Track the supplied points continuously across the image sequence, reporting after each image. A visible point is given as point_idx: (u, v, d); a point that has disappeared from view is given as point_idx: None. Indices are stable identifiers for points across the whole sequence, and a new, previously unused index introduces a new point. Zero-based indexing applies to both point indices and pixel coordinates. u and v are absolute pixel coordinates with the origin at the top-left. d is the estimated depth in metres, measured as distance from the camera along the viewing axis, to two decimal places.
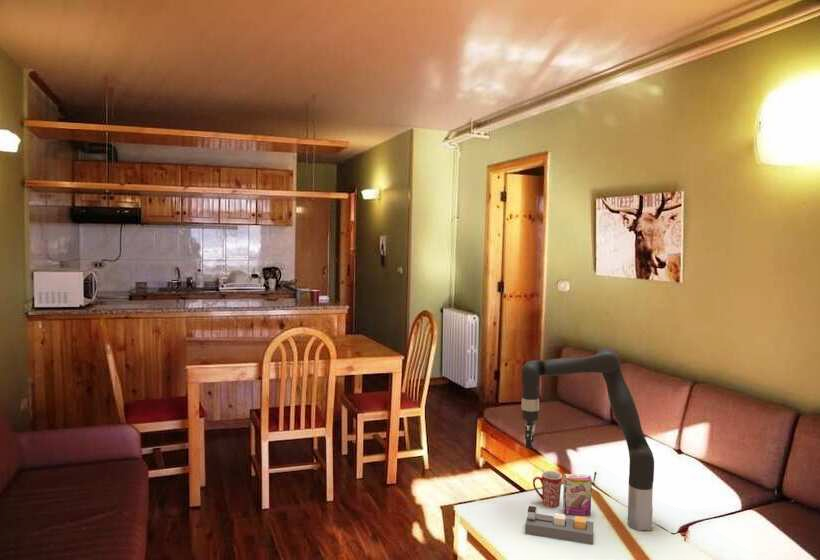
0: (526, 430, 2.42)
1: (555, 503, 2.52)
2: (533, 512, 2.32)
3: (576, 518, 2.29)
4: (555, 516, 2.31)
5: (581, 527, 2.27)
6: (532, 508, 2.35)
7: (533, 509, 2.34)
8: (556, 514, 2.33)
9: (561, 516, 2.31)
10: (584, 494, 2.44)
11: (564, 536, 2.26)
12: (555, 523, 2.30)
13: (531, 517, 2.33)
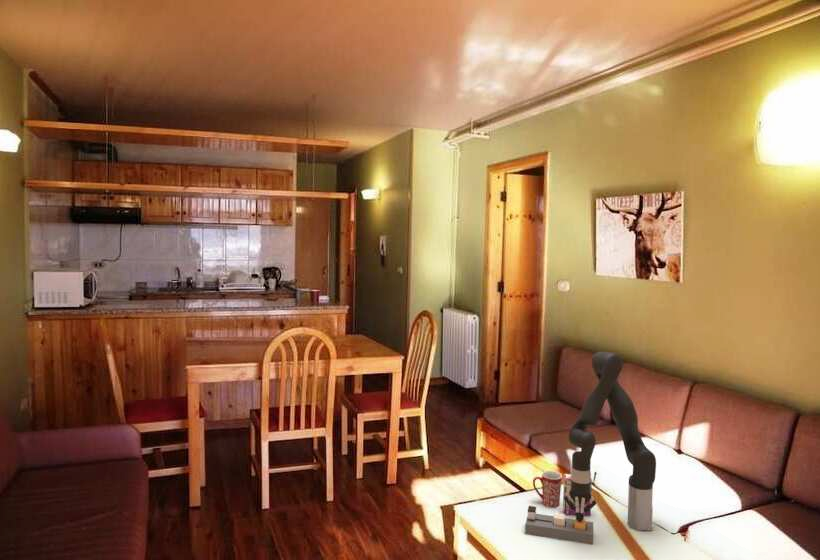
0: None
1: (555, 503, 2.52)
2: (533, 512, 2.32)
3: (576, 520, 2.29)
4: (555, 516, 2.31)
5: (581, 529, 2.27)
6: (532, 508, 2.35)
7: (533, 509, 2.34)
8: (556, 514, 2.33)
9: (561, 516, 2.31)
10: None
11: (564, 536, 2.26)
12: (555, 523, 2.30)
13: (531, 517, 2.33)
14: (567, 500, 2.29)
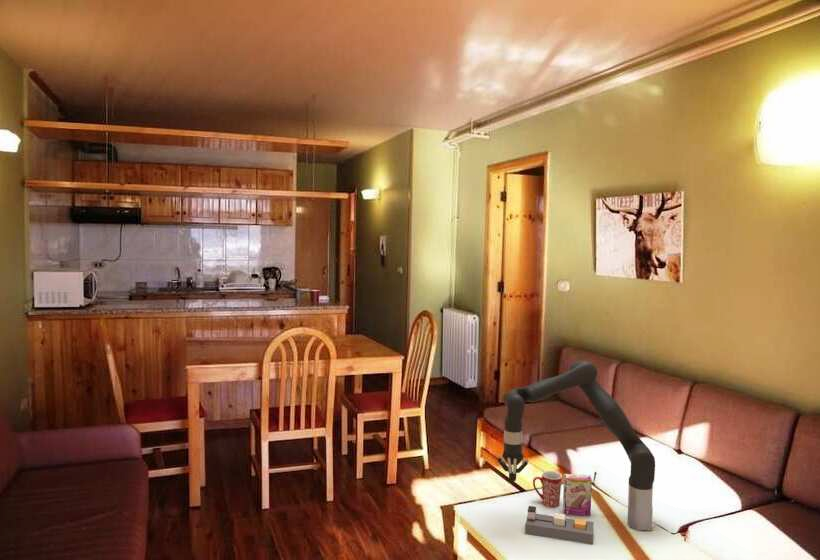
0: None
1: (555, 503, 2.52)
2: (533, 512, 2.32)
3: (576, 521, 2.29)
4: (555, 516, 2.31)
5: None
6: (532, 508, 2.35)
7: (533, 509, 2.34)
8: (556, 514, 2.33)
9: (561, 516, 2.31)
10: (584, 494, 2.44)
11: (564, 536, 2.26)
12: (555, 523, 2.30)
13: (531, 517, 2.33)
14: (500, 461, 2.36)
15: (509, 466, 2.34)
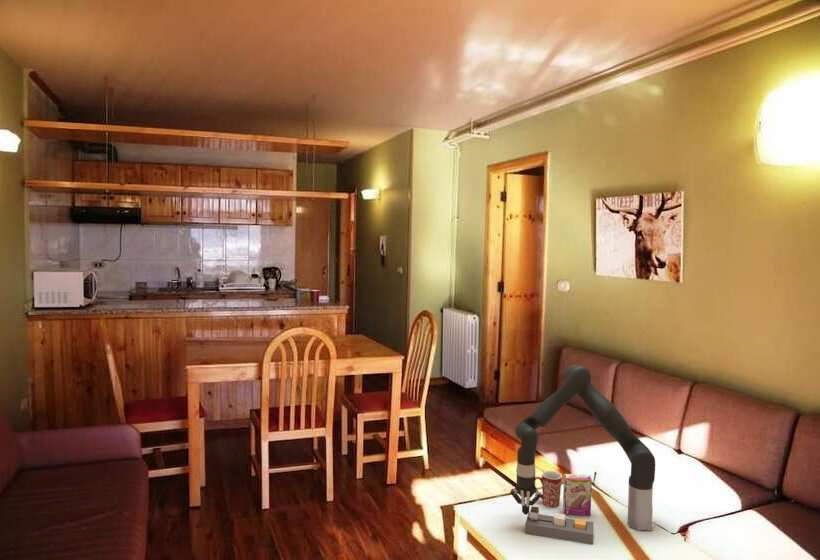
0: None
1: (555, 503, 2.52)
2: (536, 512, 2.32)
3: (576, 521, 2.29)
4: (555, 516, 2.31)
5: None
6: (535, 508, 2.34)
7: (536, 509, 2.33)
8: (556, 514, 2.33)
9: (561, 516, 2.31)
10: (584, 494, 2.44)
11: (564, 536, 2.26)
12: (555, 523, 2.30)
13: (534, 517, 2.32)
14: (513, 494, 2.35)
15: (522, 499, 2.34)
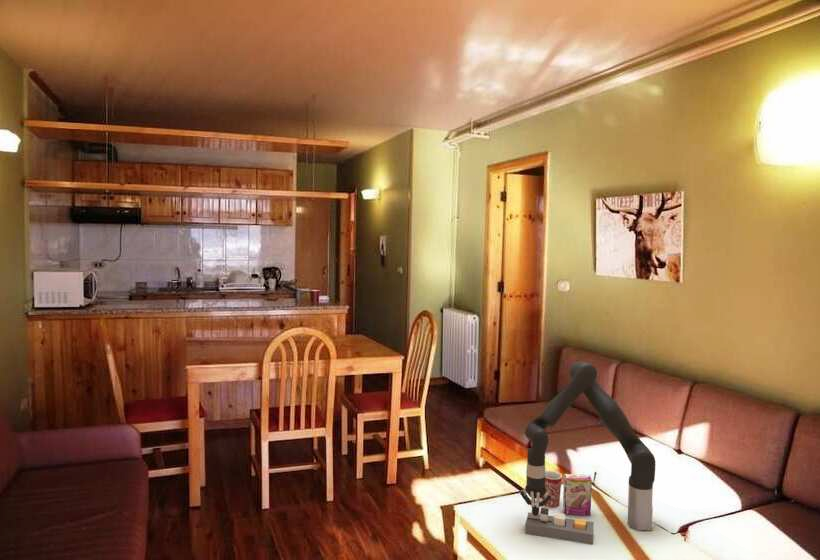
0: None
1: (555, 503, 2.52)
2: (546, 514, 2.31)
3: (576, 521, 2.29)
4: (555, 516, 2.31)
5: None
6: (545, 510, 2.33)
7: (546, 511, 2.32)
8: (556, 514, 2.33)
9: (561, 516, 2.31)
10: (584, 494, 2.44)
11: (564, 536, 2.26)
12: (555, 523, 2.30)
13: (544, 519, 2.31)
14: (523, 495, 2.34)
15: (532, 500, 2.32)
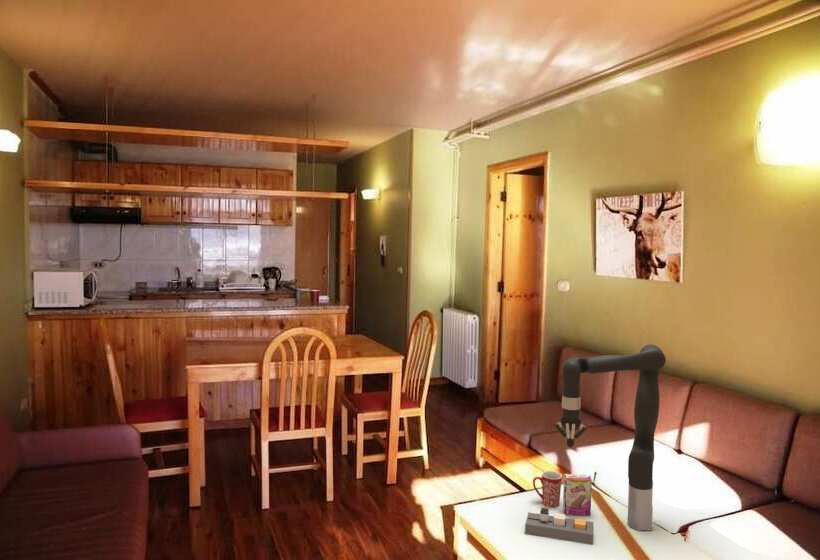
0: None
1: (555, 503, 2.52)
2: (546, 514, 2.31)
3: (576, 521, 2.29)
4: (555, 516, 2.31)
5: None
6: (545, 510, 2.33)
7: (546, 511, 2.32)
8: (556, 514, 2.33)
9: (561, 516, 2.31)
10: (584, 494, 2.44)
11: (564, 536, 2.26)
12: (555, 523, 2.30)
13: (544, 519, 2.31)
14: (558, 427, 2.41)
15: (567, 431, 2.39)
